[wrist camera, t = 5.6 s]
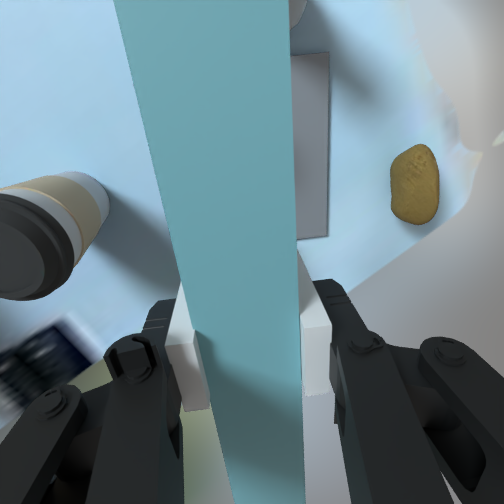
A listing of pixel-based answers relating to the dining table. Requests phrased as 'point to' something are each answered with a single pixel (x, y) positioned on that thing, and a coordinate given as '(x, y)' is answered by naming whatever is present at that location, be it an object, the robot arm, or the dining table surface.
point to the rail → (230, 216)
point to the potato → (415, 185)
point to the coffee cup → (47, 231)
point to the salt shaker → (295, 11)
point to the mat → (310, 141)
